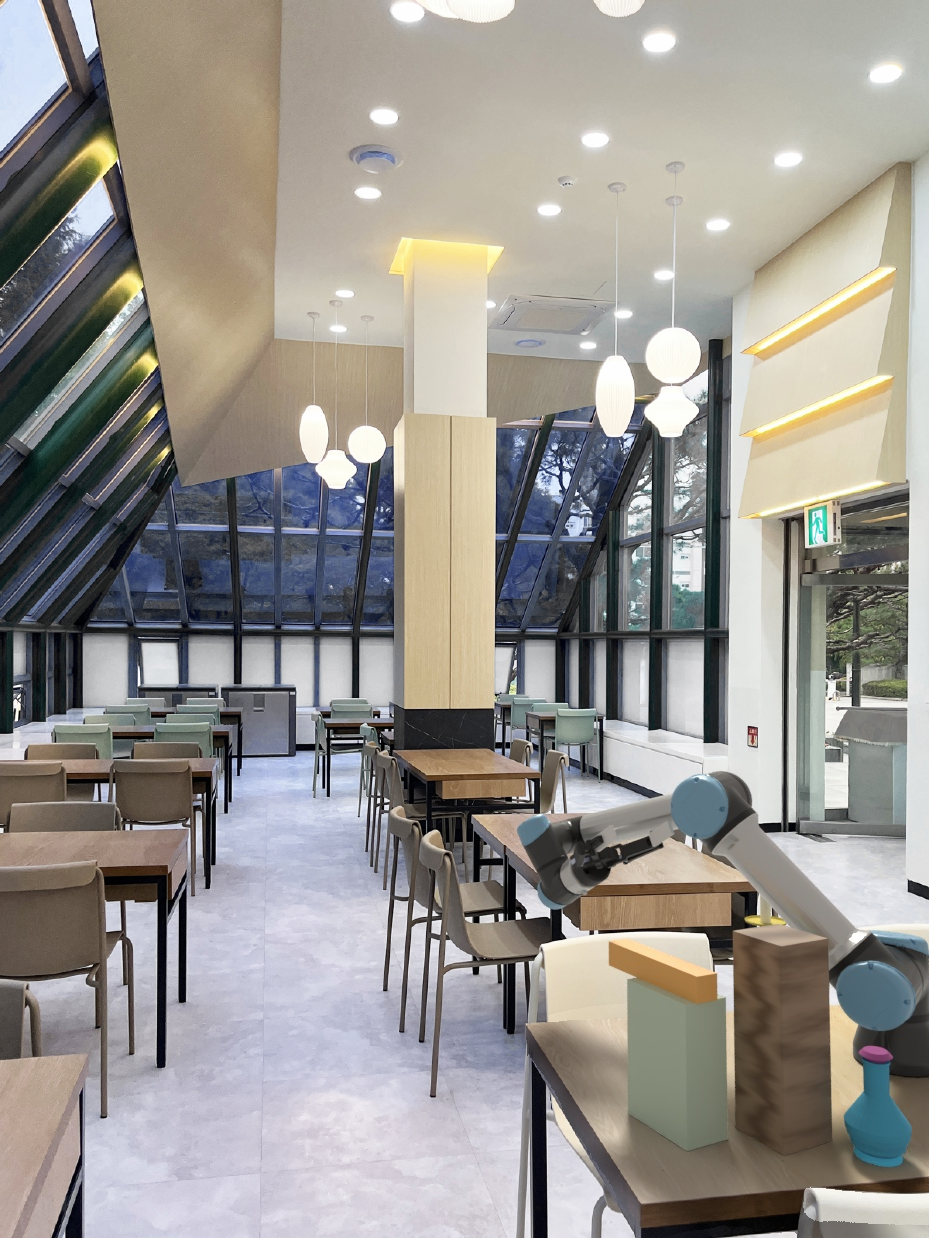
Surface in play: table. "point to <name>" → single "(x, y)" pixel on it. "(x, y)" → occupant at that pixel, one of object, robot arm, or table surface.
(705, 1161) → the table surface
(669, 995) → the pale green rectangular block
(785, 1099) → the post
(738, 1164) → the table surface
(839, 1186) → the table surface
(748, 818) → the robot arm
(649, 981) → the bar
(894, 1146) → the perfume bottle
